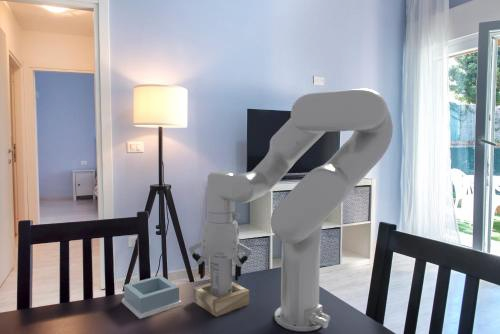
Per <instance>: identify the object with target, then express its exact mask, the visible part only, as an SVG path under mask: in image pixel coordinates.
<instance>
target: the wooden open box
mask: <svg viewBox="0 0 500 334" xmlns="http://www.w3.org/2000/svg"><path fill="white" fill-rule="evenodd" d="M193 303H194V304H196V305H198V306H200V307H201V308H202V309H204V310H206V311H207V312H208V313H209V314H211V315H213V316H215V318H216V317H217V318H218V317H219V316H222V315H224V314H225V315H226V314H227V313H230V312H232V311H235V310H237V309H240V308H242V307H245V306H248V305H250V290H249V289H248V288H245V287H243V286H241V285H240V284H238V283H236V282H233V281H232V293H231V294H228V295H225V296H222V297H219V298H217V297H215V296H213V295H212V294H210V282H209V283H208V282H207V283H205V284H202V285H198V286H196V287H193Z"/></svg>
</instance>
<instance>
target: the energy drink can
mask: <svg viewBox="0 0 500 334" xmlns="http://www.w3.org/2000/svg"><path fill="white" fill-rule="evenodd" d="M209 261H210V262H209V271H210V272H209V274H210V275H209V277H210V279H209V281H210V282H209V283H210V294H212V295H213V296H215V297H217V298H219V297H222V296H225V295H228V294H231V293H232V282H233V259H228V258H227V257H226V256H225V255H224V253H216V255H214V256H213V257H212V258H211V259H210V258H209Z"/></svg>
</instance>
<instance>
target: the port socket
mask: <svg viewBox="0 0 500 334" xmlns="http://www.w3.org/2000/svg"><path fill="white" fill-rule="evenodd" d="M123 296H124V297H123V298H122V299H121V303H122V304H123V305H124V306H125V307H126V308H128V309H129V311H131V312H132V313H133V314H134V315H135V316H136V317H137V318H138V319H140V320H141V319H143V318H147V317H149V316H152V315H156V314H159V313H161V312H166V311H168V310H171V309H174V308H177V307H179V306H180V307H181V306H182V304H183V302H182V300H180V287H179V286H178V285H176V283H173V282H172V281H170V280H168V279H167V278H165V277H164V276H163V275H157V276H154V277H150V278H145V279H142V280H138V281H134V282H130V283H126V284H124V285H123Z"/></svg>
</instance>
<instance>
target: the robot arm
mask: <svg viewBox="0 0 500 334" xmlns="http://www.w3.org/2000/svg"><path fill="white" fill-rule="evenodd" d="M393 130H394V129H393V120H392V116H391V113H390V109H389V107H388V104H387V102H386V101H385V99H384V98H383V96H382V95H381V94H380V93H379V92H377V91H375V90H373V89H368V88H359V89H358V88H356V89H346V90H345V89H344V90H335V91H324V92H323V91H322V92H313V93H307V94H303V95H302V96H300V97H299V98H297V99H296V100H295V101H294V103H293V105H292V107H291V110H290V117H289V119H288V120H287V121H286V122H285V123H284V124H283V125H282V126H281V127H280V128H279V129H278V131H276V133H275V134H274V135H272V137H271V139H270V140H269V148H268V151H267V153H266V155H265V156H264V158H263V159H262V160H261V161H260V162H259V163H258V164H257V165H256V166H255V167H254V168H253V169H252V170H251V171H247V172H244V173H240V174H239V173H237V174H234V173H233V172H229V171H212V172H210V173H209V174H208V175H207V182H206V183H207V185H206V187H207V189H206V192H207V193H206V195H207V196H206V208H207V209H206V220H204V223H203V228H202V234H201V241H198V242H196V243H194V244H192V245H190V246H189V248H188V251H189V252H190V255H191V257H192V258H193V260H194V261H196V264H197V265H198V269H197V270H198V275H199V279H201V280H202V279H204V277H205V275H206V261H205V260H206V259H209V260H210V259H211V258H212V257H213V256H214V255H216V253H224V255H225V256H226V257H227V258H228V259H232V262H234V263H235V268H234V269H235V270H234V271H235V272H234V279H235V280H234V281H236V282H238V280H239V279H240V278H241V276H242V265H244V263H245V262H247V260H248V259H249V257H250V255H251V254H252V248H250V247H248V246H247V245H244V243H243V244H242V243H241V242H240V232H239V231H240V230H239V225H238V221H237V219H240V218H241V213H238V212H236V210H235V208H236V207H235V206H236V204H235V203H238V204H247V203H250V202H252V201H255V200H256V199H259V198H262V197H263V196H265V195H266V194H268V193H269V191H270V190H271V189H273V188H274V186H275V185H277V184H278V183H279V182H280V181H281V180H282V179H283V177H284V176H285V175H286V174H287V173H288V172H289V170H291V169H292V167H293V166H294V164H296V162H297V161H298V160H299V159H300V158H301V157H302V156H303V155H304V154H305V153H306V152H307V151H308V150H309V149H310V148H311V147H312V146H313V145H314V144H315V143H316V142H317V141H318V140H319V139H320V138H321V137H322V136H323V135H325V133H327V132H331V133H332V132H347V131H349V132H350V131H353V133H352V134H351V136H350V137H349V138H348V139H347V140H346V141H345V142H344V143H343V144H342V145H341V146H340V148H339V149H338V150H337V151H336V152H335V153H334V154H333V156H331V157H330V159H328V161H326V162H325V163H324V164H322V165H320V166H317V167H315V168H313V169H312V170H310V171H309V172H308V173H306V175H304V177H303V178H302V179H300V180H299V182H298V183H297V184H295V186H294V187H293V188H292V189H291V190H290V191H289V193H288V194H286V196H285V197H284V198H283V199H282V200H281V201H280V202H279V203H278V205H277V206H275V208H274V209H273V211H272V212H271V217H270V227H271V230H272V233H273V234H274V236H275V237H276V238H277V239H278V240H280V241H281V266H280V267H281V268H280V269H281V271H280V272H281V273H280V274H281V275H280V277H281V280H280V282H281V283H280V306H279V307H278V308H277V309H275V311H274V320H275V321H276V323H277V324H278V325H280V326H281V327H283V328H285V329H287V330H290V331H294V332H312V331H313V332H314V331H316V330H318V329H320V328H324V329H327V328H328V326H329V324H330V323H329V322H330V321H331V316H330V315H328V314H326V313H324V312H323V305H322V304H320V276H321V275H320V267H321V265H320V264H321V243H322V242H321V240H322V232H323V231H322V229H323V222H324V221H325V220H327V218H328V217H329V216H330V215H332V213H333V212H334V211H335V210H336V209H337V208H338V207H339V206H340V205H341V204H342V203H343V202H344V201H345V200H346V199H347V197H348V196H349V194H350V193H351V192H352V190H353V189H354V188H355V187H356V186H357V185H358V184H359V183H360V182H361V181H362V180H363V179H364V178H365V177H366V175H367V174H368V173H369V172H370V171H371V170H372V169H373V168H374V167H375V166H376V165H377V164H378V163H379V162H380V160H381V159H382V158H383V157H384V155H385V154H386V152H387V150H388V149H389V147H390V144H391V142H392V137H393V133H394V131H393ZM198 249H200V253H201V254H199V253H198V252H197V250H198ZM240 251H242V252H244V255H242V257H241V256H240V255H239V253H240Z"/></svg>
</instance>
